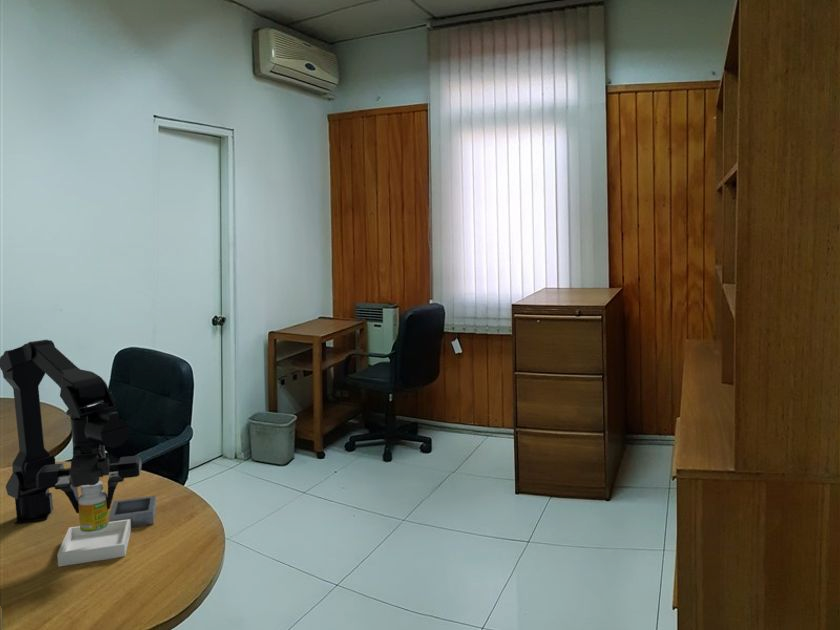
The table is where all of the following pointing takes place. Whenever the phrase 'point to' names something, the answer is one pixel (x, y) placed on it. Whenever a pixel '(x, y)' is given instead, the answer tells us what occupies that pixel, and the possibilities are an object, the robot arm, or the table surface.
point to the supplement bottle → (93, 509)
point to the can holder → (134, 511)
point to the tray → (95, 544)
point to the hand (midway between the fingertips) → (93, 510)
